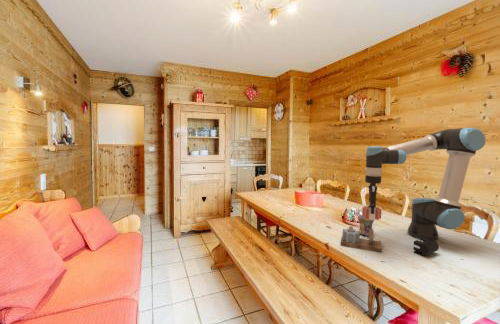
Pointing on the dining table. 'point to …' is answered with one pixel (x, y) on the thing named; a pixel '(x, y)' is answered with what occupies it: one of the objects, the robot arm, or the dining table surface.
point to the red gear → (366, 212)
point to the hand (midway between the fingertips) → (371, 216)
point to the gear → (351, 236)
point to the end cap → (425, 246)
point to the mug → (365, 225)
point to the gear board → (364, 242)
